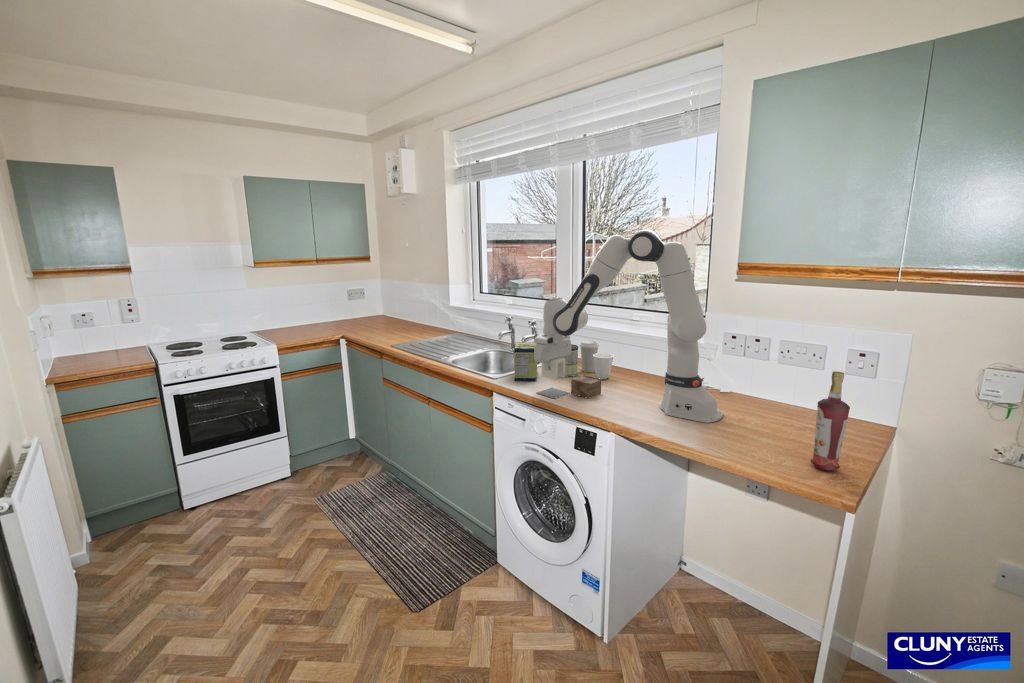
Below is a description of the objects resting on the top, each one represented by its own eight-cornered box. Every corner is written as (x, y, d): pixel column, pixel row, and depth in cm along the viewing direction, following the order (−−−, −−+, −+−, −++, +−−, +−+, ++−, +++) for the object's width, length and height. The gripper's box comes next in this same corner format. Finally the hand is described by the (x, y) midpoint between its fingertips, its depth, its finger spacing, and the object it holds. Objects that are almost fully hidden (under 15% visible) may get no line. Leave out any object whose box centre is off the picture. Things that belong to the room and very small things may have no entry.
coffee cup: (586, 374, 224) (587, 344, 221) (575, 370, 233) (575, 341, 230) (602, 371, 229) (603, 342, 226) (589, 367, 237) (590, 339, 234)
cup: (615, 376, 221) (616, 354, 219) (610, 381, 213) (611, 358, 210) (594, 373, 225) (595, 352, 223) (589, 379, 217) (590, 356, 214)
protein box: (537, 372, 229) (537, 342, 225) (536, 381, 213) (536, 349, 210) (516, 372, 230) (516, 341, 226) (514, 381, 214) (513, 348, 211)
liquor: (845, 475, 126) (861, 377, 120) (816, 473, 127) (830, 375, 121) (832, 463, 133) (846, 369, 127) (804, 461, 134) (817, 368, 128)
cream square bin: (550, 373, 199) (550, 355, 198) (565, 377, 194) (565, 358, 192) (541, 376, 195) (541, 358, 193) (555, 380, 189) (556, 361, 188)
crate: (601, 393, 196) (601, 379, 194) (588, 398, 189) (588, 383, 188) (583, 388, 202) (584, 374, 201) (570, 393, 196) (571, 379, 194)
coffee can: (552, 374, 224) (553, 346, 221) (563, 370, 233) (563, 343, 230) (571, 378, 218) (572, 349, 216) (581, 373, 227) (582, 345, 224)
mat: (569, 393, 196) (569, 392, 196) (554, 398, 189) (554, 398, 189) (551, 388, 203) (551, 387, 203) (536, 393, 196) (536, 392, 196)
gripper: (563, 332, 200) (563, 362, 203) (531, 338, 186) (531, 371, 189) (575, 334, 196) (574, 365, 198) (543, 341, 182) (542, 374, 185)
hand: (553, 368), depth 194 cm, fingers closed on cream square bin, 6 cm apart
